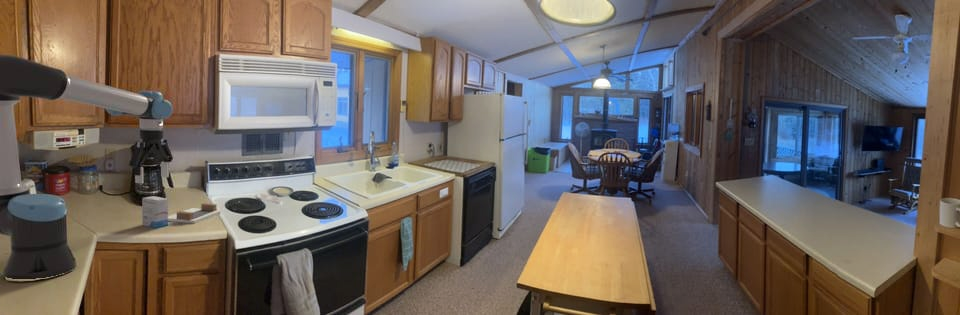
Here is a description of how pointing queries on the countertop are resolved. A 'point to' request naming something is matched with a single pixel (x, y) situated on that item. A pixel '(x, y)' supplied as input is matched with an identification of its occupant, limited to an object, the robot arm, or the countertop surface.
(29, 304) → the countertop surface
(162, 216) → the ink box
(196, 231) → the countertop surface
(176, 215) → the board
